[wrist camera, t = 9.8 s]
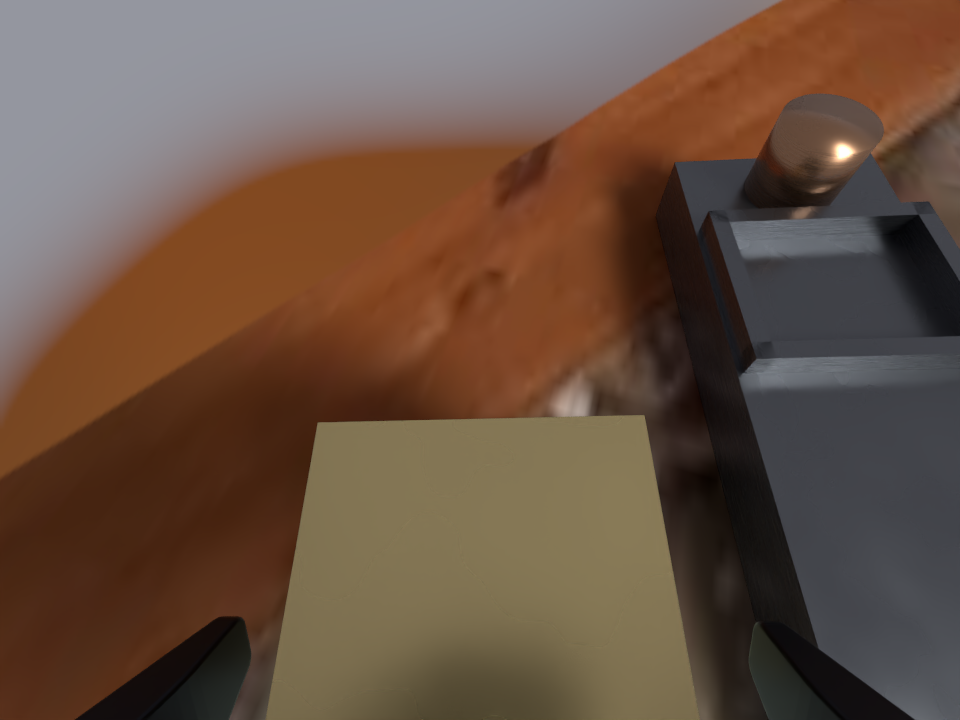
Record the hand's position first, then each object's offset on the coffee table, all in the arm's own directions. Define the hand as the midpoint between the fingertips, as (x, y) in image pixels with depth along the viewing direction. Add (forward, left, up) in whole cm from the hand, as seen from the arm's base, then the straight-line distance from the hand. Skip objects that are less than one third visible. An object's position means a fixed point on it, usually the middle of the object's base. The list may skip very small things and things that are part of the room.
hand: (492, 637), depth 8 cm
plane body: (+1, -13, -7) cm, 15 cm away
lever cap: (+1, 0, -6) cm, 6 cm away
